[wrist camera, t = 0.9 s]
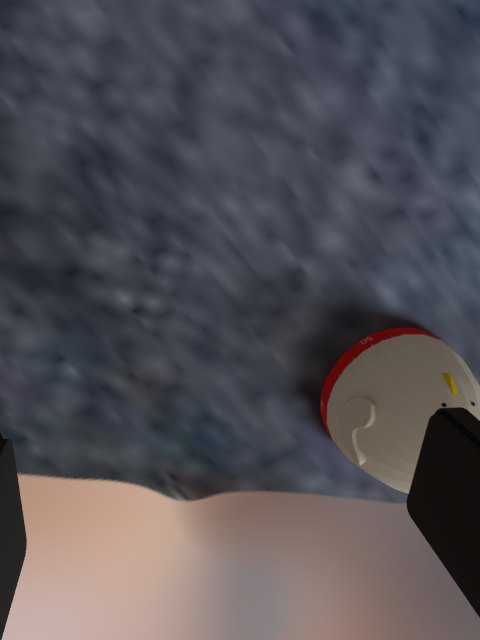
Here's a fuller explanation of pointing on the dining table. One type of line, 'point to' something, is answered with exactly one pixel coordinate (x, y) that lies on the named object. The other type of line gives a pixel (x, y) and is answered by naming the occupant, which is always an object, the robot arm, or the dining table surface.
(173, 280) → the dining table surface
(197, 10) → the dining table surface
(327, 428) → the kitchen timer
